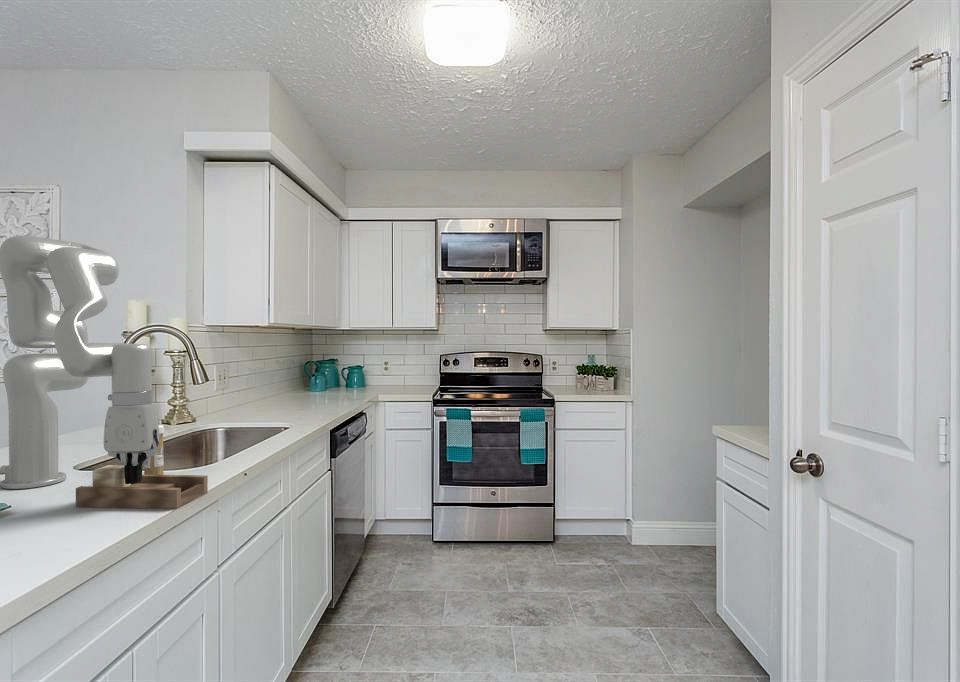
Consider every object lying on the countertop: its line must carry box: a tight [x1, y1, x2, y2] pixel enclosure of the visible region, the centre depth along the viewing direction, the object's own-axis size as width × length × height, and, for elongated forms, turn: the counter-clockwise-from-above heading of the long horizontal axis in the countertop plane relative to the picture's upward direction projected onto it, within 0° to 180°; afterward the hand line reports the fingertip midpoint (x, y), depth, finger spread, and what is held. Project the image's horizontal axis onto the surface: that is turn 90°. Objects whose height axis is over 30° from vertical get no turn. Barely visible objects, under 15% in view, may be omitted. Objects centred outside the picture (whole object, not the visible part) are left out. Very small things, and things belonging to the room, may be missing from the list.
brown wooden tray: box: [75, 474, 209, 510], centre depth 124 cm, size 22×12×4 cm, turn 87°
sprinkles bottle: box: [143, 424, 165, 475], centre depth 141 cm, size 5×5×14 cm
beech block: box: [92, 464, 130, 487], centre depth 124 cm, size 5×5×4 cm
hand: (133, 482), depth 124 cm, fingers closed
